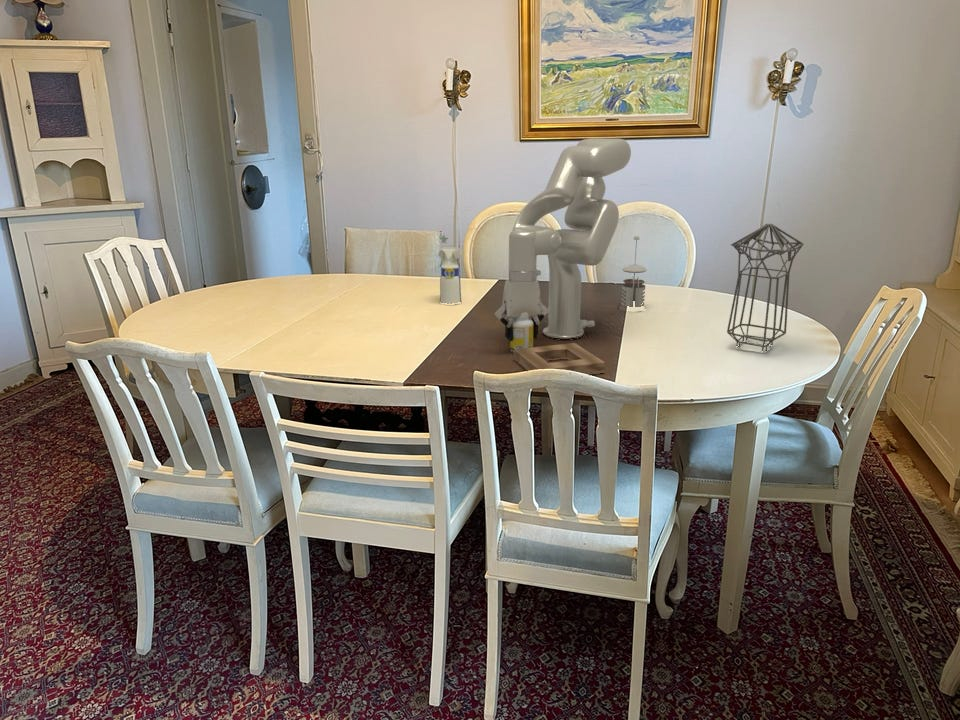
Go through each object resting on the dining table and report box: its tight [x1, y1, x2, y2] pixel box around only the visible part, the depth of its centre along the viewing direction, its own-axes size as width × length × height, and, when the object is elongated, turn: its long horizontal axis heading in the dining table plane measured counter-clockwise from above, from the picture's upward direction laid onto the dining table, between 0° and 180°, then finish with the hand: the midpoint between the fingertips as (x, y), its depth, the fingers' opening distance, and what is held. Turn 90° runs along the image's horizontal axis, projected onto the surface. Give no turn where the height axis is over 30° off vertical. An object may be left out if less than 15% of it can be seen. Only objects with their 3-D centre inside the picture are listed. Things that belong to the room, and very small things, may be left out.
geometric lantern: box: [726, 223, 804, 352], centre depth 198 cm, size 16×16×35 cm
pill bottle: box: [509, 313, 534, 353], centre depth 201 cm, size 6×6×12 cm
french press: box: [620, 235, 647, 307], centre depth 242 cm, size 10×12×25 cm
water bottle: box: [437, 234, 464, 304], centre depth 253 cm, size 8×9×25 cm
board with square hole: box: [513, 342, 606, 374], centre depth 189 cm, size 18×18×3 cm
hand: (521, 338), depth 202 cm, fingers closed on pill bottle, 6 cm apart
